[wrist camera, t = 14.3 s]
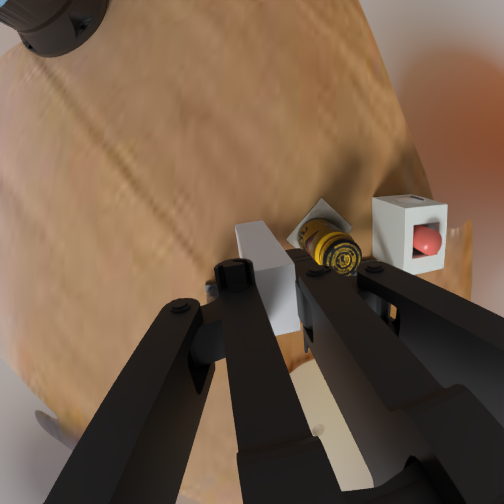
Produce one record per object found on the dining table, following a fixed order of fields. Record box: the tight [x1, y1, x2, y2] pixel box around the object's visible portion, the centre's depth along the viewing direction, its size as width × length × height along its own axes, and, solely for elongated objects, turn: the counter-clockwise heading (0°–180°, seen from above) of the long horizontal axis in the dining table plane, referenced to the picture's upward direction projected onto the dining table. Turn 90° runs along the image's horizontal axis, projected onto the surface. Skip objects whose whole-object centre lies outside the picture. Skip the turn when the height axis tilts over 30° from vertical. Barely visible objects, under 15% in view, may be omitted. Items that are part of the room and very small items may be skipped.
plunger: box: [413, 224, 442, 256], centre depth 45 cm, size 4×4×9 cm
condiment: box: [286, 198, 362, 276], centre depth 45 cm, size 7×8×12 cm
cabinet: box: [372, 194, 447, 275], centre depth 47 cm, size 11×8×10 cm
